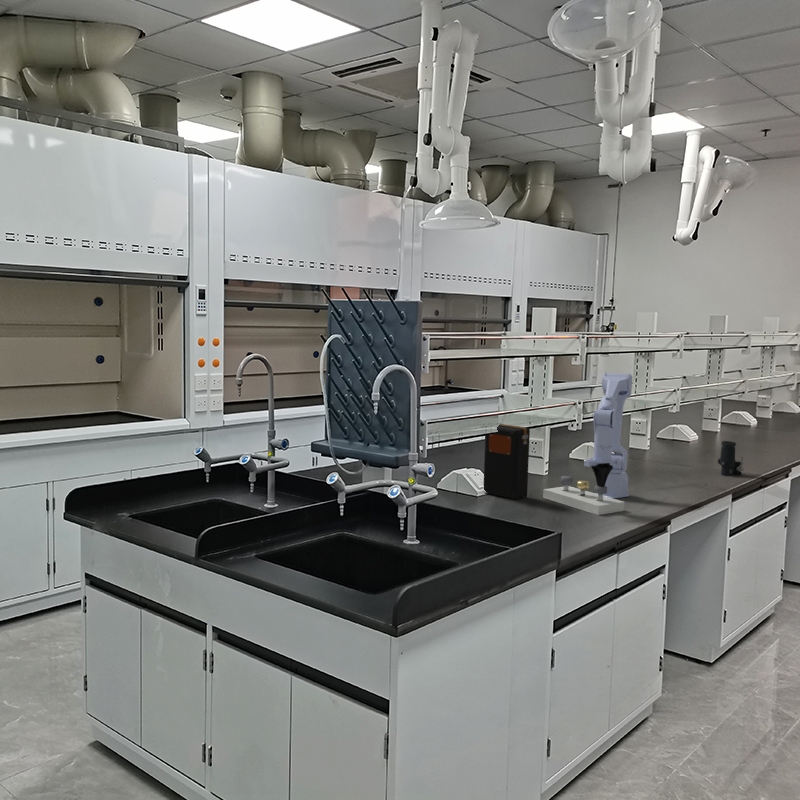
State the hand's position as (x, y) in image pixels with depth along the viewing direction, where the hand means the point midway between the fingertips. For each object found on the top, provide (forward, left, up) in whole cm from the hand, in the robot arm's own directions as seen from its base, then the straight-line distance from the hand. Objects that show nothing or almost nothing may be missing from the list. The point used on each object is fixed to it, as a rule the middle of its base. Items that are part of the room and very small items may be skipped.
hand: (600, 486), depth 244 cm
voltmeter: (+16, -30, -8) cm, 35 cm away
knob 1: (0, -16, -5) cm, 17 cm away
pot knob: (0, -8, -5) cm, 10 cm away
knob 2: (0, 0, -5) cm, 5 cm away
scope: (-92, -16, -8) cm, 94 cm away
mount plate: (0, -8, -8) cm, 11 cm away
